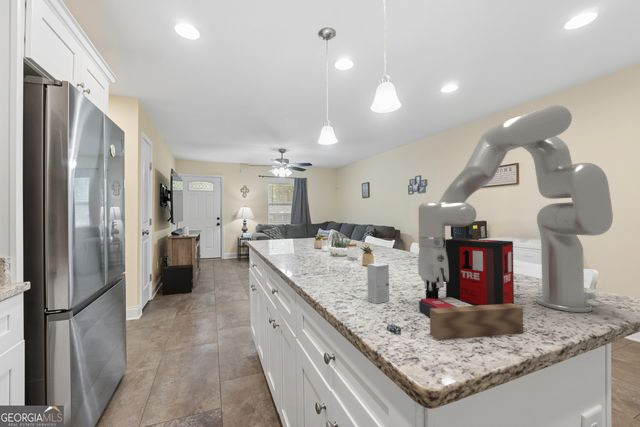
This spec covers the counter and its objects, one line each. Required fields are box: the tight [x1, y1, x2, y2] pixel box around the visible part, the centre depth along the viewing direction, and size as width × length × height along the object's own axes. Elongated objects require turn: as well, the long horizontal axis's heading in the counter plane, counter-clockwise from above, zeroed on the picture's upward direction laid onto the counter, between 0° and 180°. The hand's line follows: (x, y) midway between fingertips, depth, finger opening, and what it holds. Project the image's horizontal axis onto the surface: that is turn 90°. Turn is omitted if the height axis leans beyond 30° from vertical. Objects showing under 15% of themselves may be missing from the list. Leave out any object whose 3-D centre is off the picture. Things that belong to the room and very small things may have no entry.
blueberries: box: [385, 322, 408, 336], centre depth 64 cm, size 7×8×2 cm
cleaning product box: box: [445, 237, 515, 306], centre depth 84 cm, size 16×9×20 cm, turn 37°
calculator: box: [418, 297, 473, 318], centre depth 71 cm, size 11×4×15 cm
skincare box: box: [366, 262, 390, 305], centre depth 87 cm, size 6×4×12 cm
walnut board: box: [429, 303, 524, 341], centre depth 62 cm, size 22×3×6 cm, turn 98°
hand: (432, 303), depth 80 cm, fingers closed
